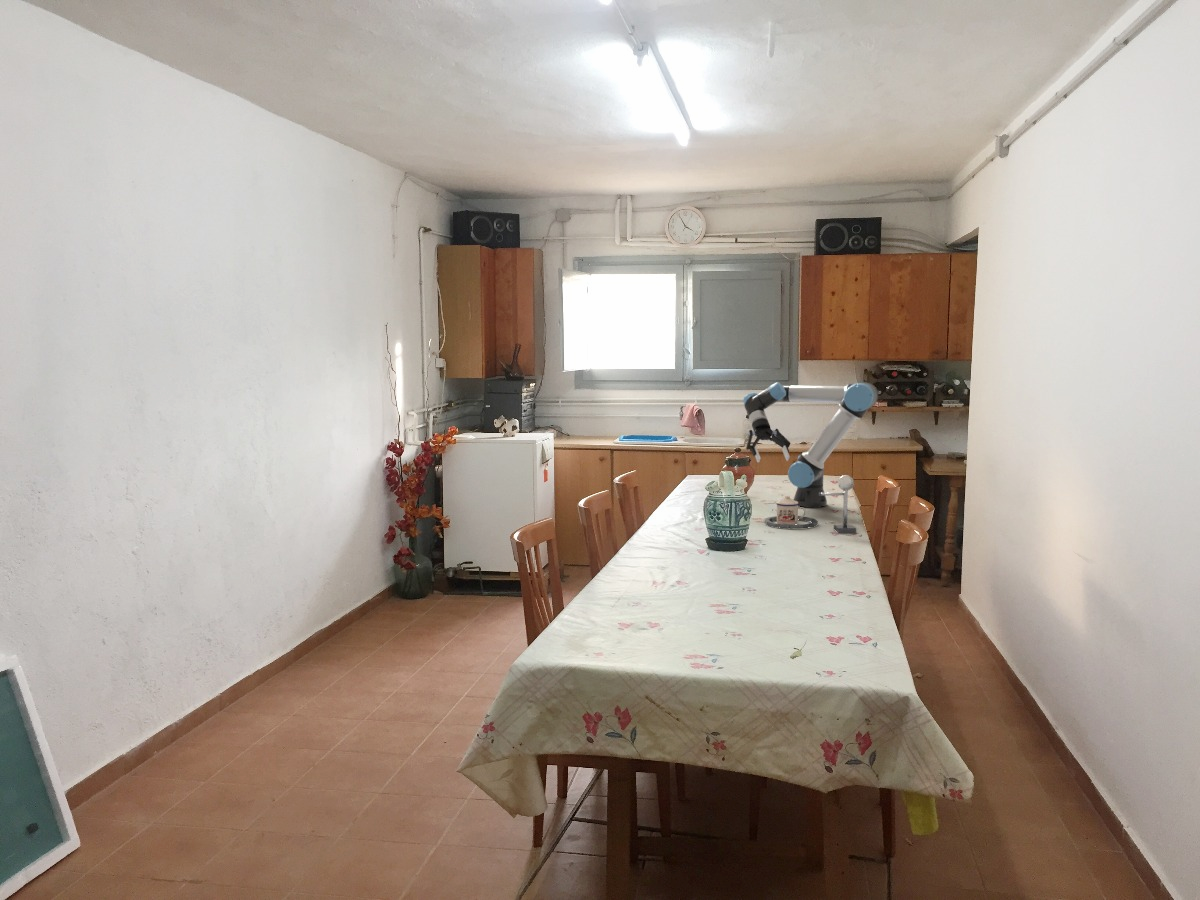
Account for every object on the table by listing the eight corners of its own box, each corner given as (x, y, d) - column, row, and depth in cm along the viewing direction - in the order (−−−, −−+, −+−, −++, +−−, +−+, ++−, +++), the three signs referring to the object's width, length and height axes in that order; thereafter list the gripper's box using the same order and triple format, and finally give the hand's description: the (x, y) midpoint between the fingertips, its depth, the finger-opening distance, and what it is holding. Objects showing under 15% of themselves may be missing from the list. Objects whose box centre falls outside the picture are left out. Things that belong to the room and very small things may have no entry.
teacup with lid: (775, 525, 371) (775, 497, 370) (777, 521, 380) (777, 494, 378) (805, 526, 368) (805, 498, 366) (806, 522, 376) (806, 494, 375)
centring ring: (810, 518, 384) (810, 515, 384) (822, 528, 363) (822, 525, 363) (761, 519, 384) (761, 515, 384) (770, 529, 363) (770, 525, 363)
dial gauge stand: (851, 529, 361) (852, 473, 359) (856, 533, 354) (857, 476, 352) (816, 529, 361) (816, 474, 359) (820, 533, 354) (821, 476, 352)
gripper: (783, 426, 410) (797, 463, 397) (731, 429, 405) (744, 466, 392) (788, 416, 405) (802, 452, 392) (735, 418, 399) (749, 455, 386)
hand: (773, 459), depth 392 cm, fingers open, 13 cm apart
